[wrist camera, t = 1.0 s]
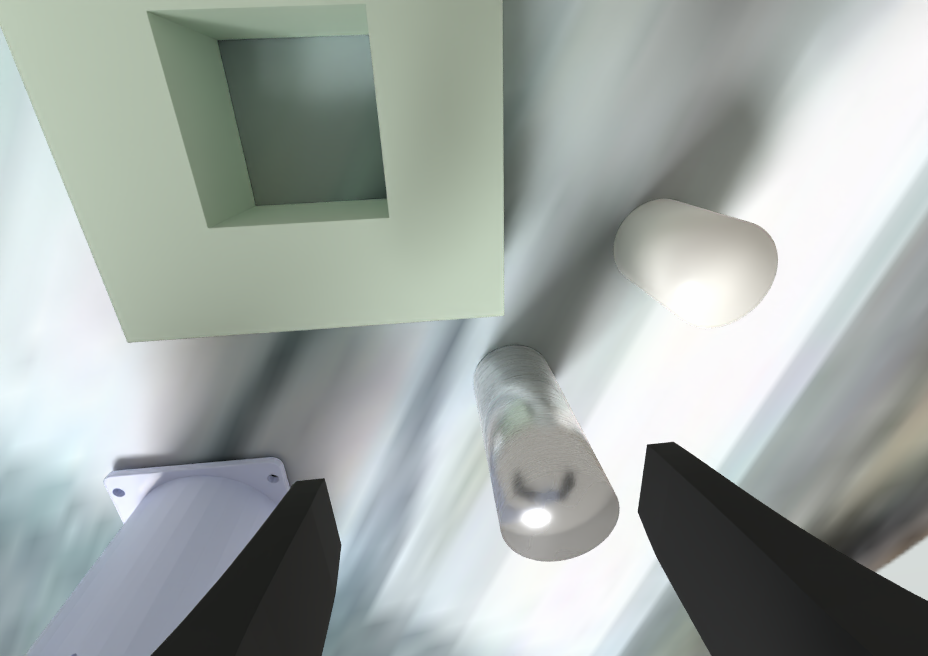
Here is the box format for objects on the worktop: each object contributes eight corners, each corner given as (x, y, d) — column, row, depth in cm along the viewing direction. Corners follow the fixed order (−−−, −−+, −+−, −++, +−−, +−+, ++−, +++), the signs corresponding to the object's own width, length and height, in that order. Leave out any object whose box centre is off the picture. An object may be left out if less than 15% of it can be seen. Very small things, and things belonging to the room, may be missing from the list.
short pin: (690, 281, 19) (762, 324, 15) (609, 287, 19) (660, 332, 15) (706, 196, 18) (790, 217, 14) (618, 201, 17) (677, 224, 13)
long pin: (549, 409, 21) (613, 555, 14) (474, 415, 21) (500, 566, 14) (551, 342, 20) (625, 467, 13) (471, 348, 20) (499, 478, 12)
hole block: (488, 278, 18) (504, 315, 15) (188, 298, 18) (127, 342, 14) (480, -104, 13) (501, -191, 10) (61, -97, 13) (-85, -187, 9)
